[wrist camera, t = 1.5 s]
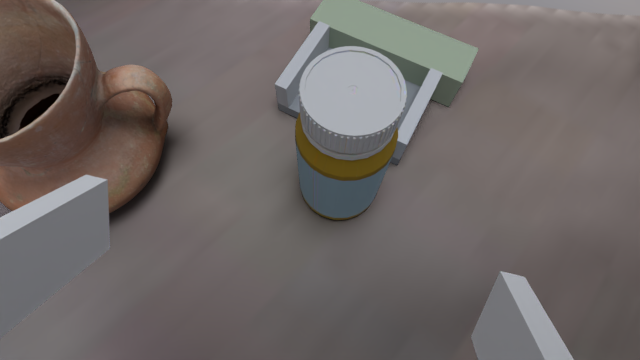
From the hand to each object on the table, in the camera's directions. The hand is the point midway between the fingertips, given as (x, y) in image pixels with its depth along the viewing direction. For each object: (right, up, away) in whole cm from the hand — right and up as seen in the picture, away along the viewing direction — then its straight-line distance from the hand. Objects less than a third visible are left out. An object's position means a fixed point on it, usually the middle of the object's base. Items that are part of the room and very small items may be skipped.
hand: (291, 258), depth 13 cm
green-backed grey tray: (+6, +11, +26) cm, 29 cm away
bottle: (+3, +2, +23) cm, 23 cm away
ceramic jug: (-20, +5, +24) cm, 31 cm away
